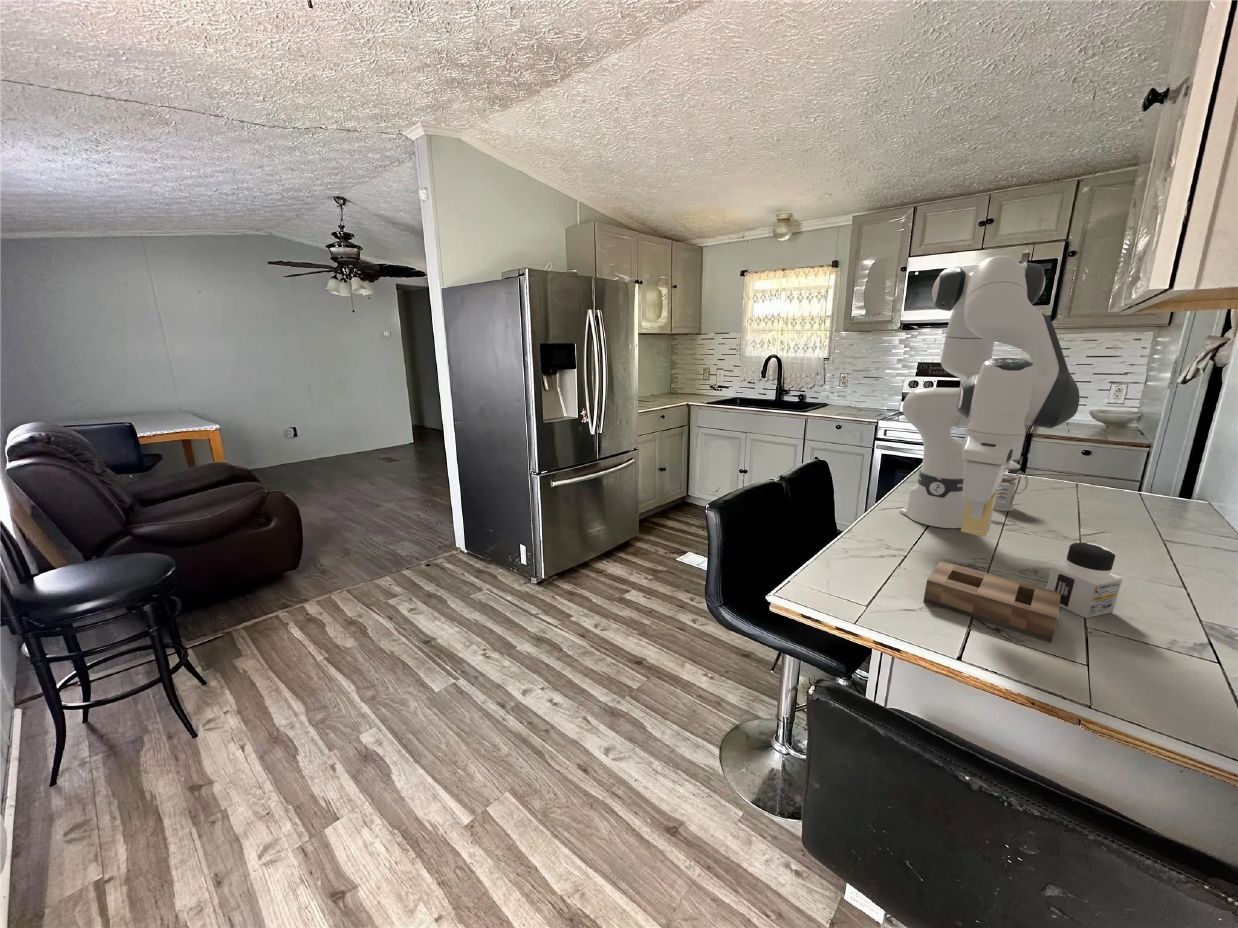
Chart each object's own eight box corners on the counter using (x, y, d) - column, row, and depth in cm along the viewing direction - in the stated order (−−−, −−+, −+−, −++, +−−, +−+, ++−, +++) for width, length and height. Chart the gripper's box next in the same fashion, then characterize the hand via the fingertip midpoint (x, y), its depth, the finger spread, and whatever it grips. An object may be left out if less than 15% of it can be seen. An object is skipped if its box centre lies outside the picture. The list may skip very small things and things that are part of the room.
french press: (981, 498, 163) (996, 425, 157) (1025, 507, 154) (1042, 430, 148) (972, 504, 157) (987, 429, 151) (1017, 514, 148) (1035, 434, 142)
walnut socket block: (936, 581, 108) (940, 560, 107) (1055, 615, 95) (1061, 592, 93) (923, 601, 100) (927, 579, 98) (1051, 642, 86) (1057, 618, 85)
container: (1086, 619, 94) (1103, 557, 90) (1042, 598, 101) (1057, 541, 98) (1113, 612, 96) (1131, 552, 92) (1068, 593, 103) (1083, 536, 100)
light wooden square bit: (964, 525, 99) (971, 488, 97) (988, 531, 96) (996, 493, 94) (960, 531, 96) (968, 493, 94) (985, 536, 94) (993, 497, 92)
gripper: (981, 435, 101) (968, 498, 105) (961, 452, 87) (948, 523, 90) (1019, 439, 97) (1005, 504, 101) (1005, 458, 83) (989, 533, 86)
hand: (978, 514), depth 95 cm, fingers closed on light wooden square bit, 4 cm apart
